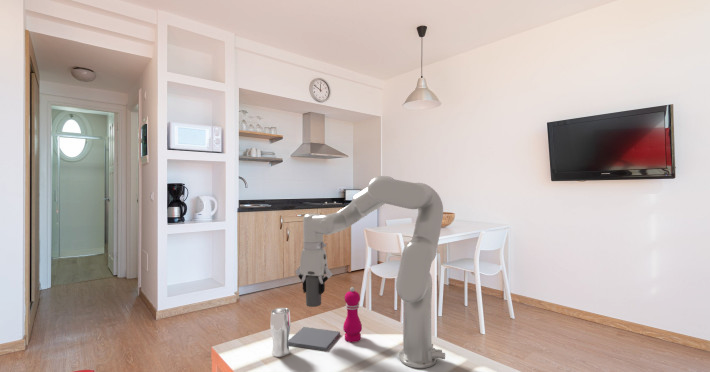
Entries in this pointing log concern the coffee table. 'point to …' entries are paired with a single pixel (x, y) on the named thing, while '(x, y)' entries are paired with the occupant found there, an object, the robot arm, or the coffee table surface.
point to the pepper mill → (352, 317)
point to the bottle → (312, 291)
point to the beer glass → (280, 331)
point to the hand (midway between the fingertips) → (313, 292)
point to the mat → (314, 338)
